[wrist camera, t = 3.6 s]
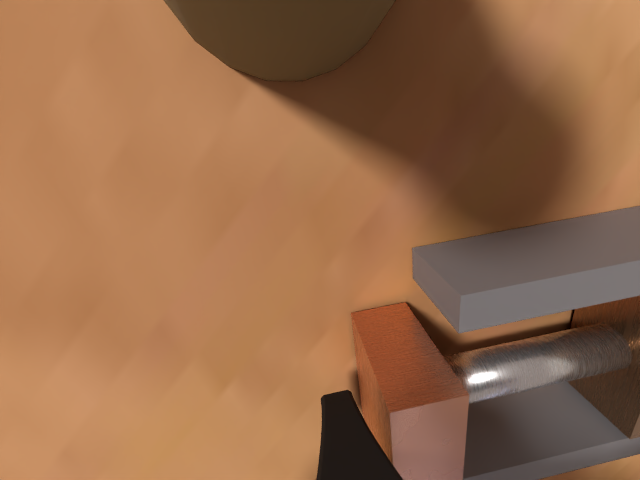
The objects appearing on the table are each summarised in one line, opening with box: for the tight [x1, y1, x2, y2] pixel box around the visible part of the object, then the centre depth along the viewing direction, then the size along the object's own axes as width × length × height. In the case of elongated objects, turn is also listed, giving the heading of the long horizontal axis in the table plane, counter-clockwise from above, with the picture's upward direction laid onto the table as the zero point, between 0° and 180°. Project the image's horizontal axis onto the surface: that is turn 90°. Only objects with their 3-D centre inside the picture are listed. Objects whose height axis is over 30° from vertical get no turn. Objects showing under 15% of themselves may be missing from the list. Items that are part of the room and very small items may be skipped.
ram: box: [351, 296, 640, 480], centre depth 11 cm, size 6×10×4 cm, turn 98°
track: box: [412, 206, 640, 480], centre depth 12 cm, size 9×14×3 cm, turn 98°
